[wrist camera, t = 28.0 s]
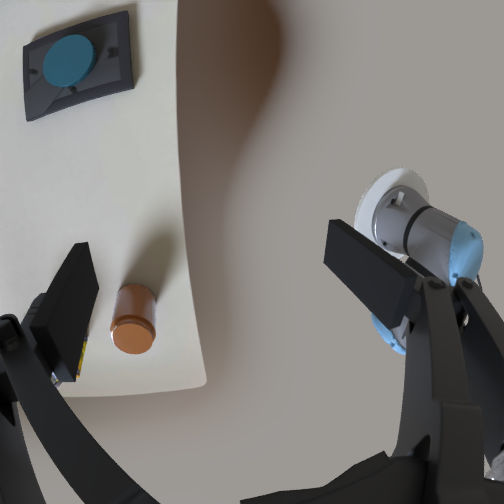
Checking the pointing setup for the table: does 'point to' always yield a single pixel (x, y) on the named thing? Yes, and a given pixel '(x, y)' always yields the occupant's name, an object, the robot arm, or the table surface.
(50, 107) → the picture frame
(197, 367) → the table surface
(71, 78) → the jar lid
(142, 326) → the jar
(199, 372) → the table surface
